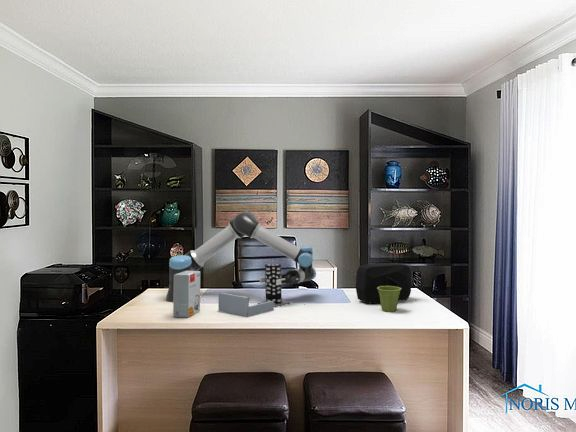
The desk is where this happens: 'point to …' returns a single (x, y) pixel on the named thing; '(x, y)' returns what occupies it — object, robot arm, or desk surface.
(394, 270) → the black hard case
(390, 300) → the plant pot
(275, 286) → the spotted tube
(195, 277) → the hard drive box
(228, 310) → the bay
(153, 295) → the desk surface
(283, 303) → the mat
